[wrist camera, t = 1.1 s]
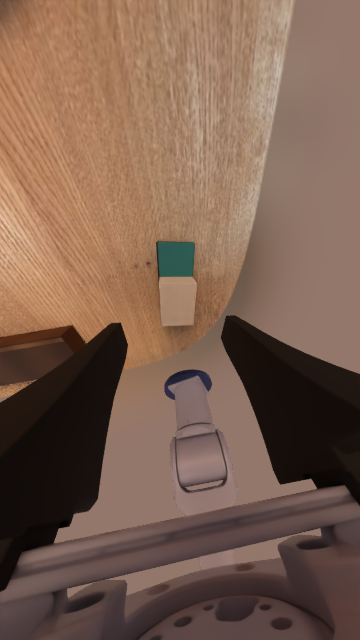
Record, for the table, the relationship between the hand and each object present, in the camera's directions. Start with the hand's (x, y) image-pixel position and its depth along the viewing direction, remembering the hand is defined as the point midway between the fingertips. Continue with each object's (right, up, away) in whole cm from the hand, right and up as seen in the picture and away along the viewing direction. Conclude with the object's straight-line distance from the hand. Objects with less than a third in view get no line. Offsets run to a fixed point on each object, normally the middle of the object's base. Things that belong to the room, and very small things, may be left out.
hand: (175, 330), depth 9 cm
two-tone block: (0, +6, +8) cm, 10 cm away
